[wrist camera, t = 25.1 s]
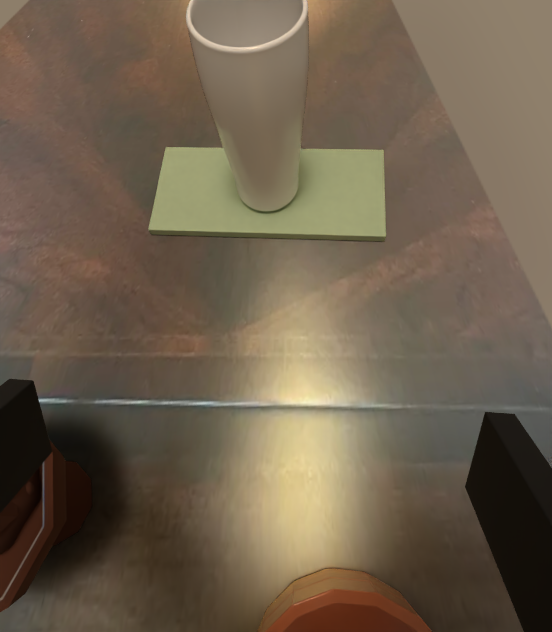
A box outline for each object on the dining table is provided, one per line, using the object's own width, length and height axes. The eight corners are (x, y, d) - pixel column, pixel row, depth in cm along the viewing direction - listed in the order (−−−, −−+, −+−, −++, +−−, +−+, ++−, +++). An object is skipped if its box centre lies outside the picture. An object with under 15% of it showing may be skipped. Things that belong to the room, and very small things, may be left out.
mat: (382, 155, 37) (383, 149, 37) (384, 241, 34) (386, 236, 34) (168, 153, 39) (165, 146, 38) (151, 234, 36) (148, 229, 35)
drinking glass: (252, 148, 38) (222, -44, 24) (319, 173, 36) (330, -17, 22) (215, 205, 36) (159, 31, 22) (285, 233, 34) (273, 66, 20)
